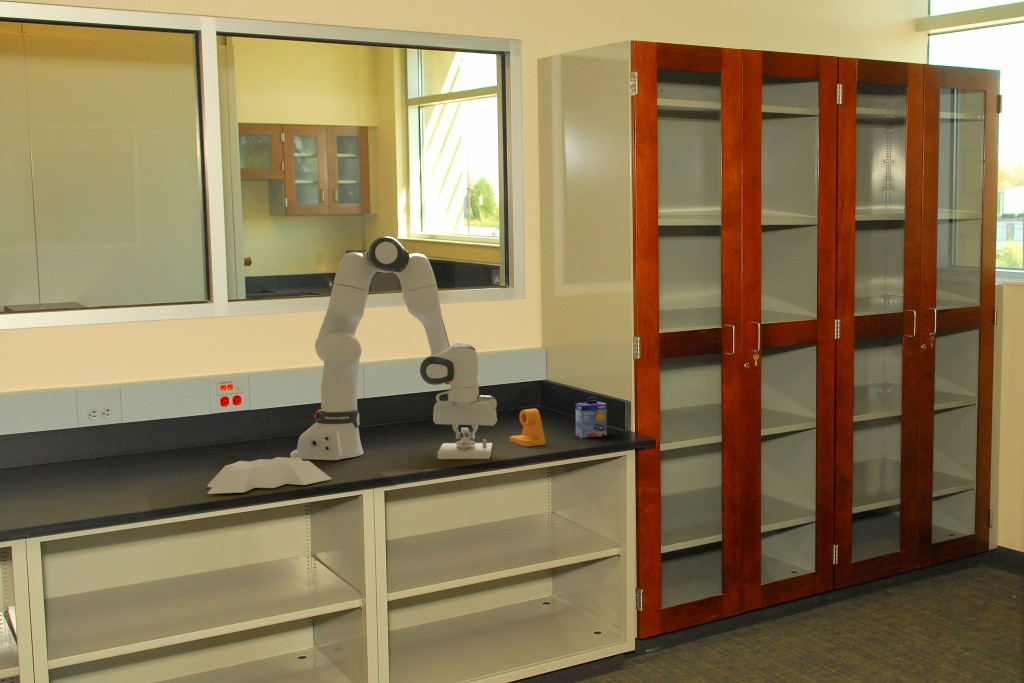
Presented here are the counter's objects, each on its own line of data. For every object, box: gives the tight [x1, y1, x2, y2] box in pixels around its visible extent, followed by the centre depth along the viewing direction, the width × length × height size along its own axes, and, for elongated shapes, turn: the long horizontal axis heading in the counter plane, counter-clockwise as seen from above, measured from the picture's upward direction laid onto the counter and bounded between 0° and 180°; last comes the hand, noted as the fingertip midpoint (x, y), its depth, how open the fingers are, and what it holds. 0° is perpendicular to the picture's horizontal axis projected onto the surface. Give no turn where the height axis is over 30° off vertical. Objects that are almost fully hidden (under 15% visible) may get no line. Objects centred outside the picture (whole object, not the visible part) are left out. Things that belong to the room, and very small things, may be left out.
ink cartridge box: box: [575, 396, 608, 439], centre depth 348 cm, size 10×6×14 cm, turn 113°
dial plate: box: [437, 438, 493, 460], centre depth 324 cm, size 16×16×4 cm
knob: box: [455, 427, 476, 448], centre depth 322 cm, size 10×6×6 cm, turn 8°
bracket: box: [509, 408, 546, 447], centre depth 337 cm, size 11×7×12 cm, turn 32°
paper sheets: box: [206, 456, 332, 495], centre depth 290 cm, size 35×20×6 cm, turn 118°
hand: (465, 438), depth 324 cm, fingers closed on knob, 3 cm apart
